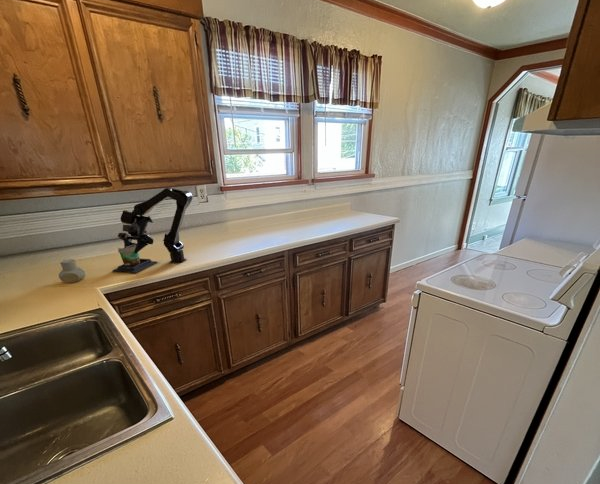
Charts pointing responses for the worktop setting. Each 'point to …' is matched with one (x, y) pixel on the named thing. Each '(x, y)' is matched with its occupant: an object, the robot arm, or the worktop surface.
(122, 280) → the worktop surface
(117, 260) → the worktop surface
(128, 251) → the food container
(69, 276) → the air freshener
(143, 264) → the pad
